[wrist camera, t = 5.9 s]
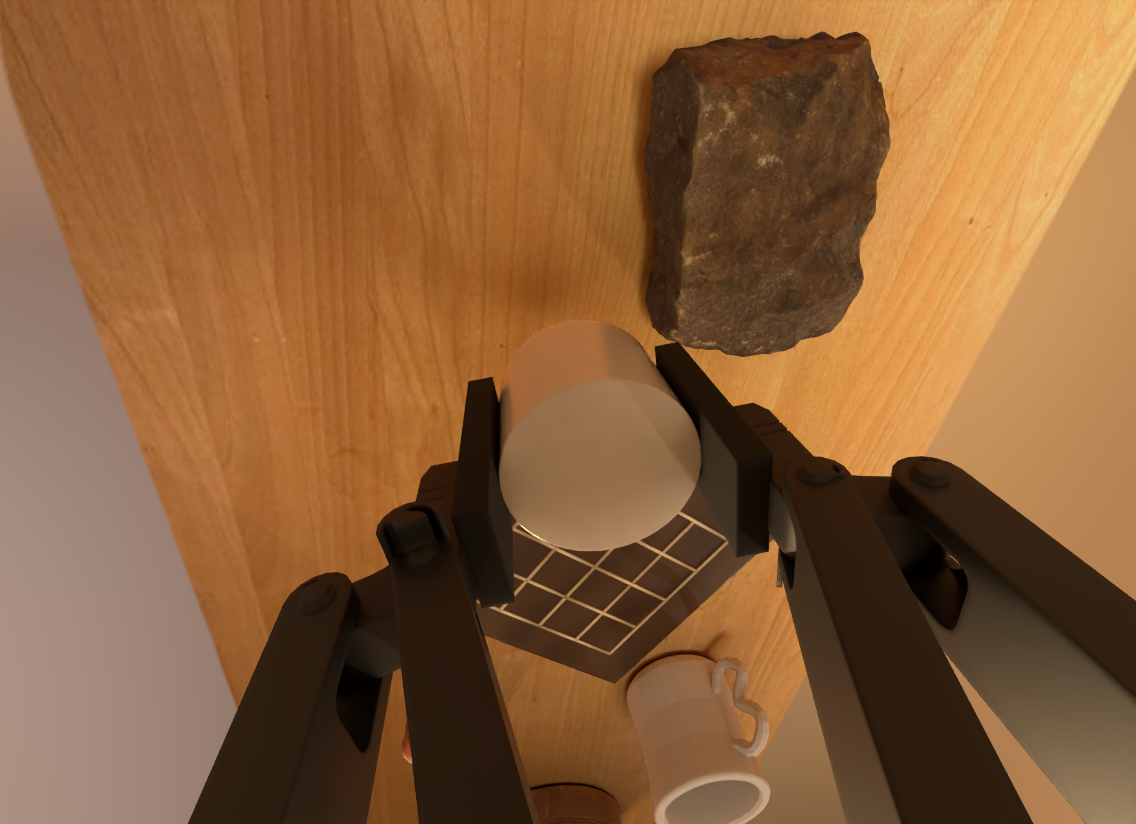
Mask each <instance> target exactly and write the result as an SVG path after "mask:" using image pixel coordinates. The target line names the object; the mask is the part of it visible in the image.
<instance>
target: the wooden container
mask: <svg viewBox="0 0 1136 824" xmlns="http://www.w3.org/2000/svg"><path fill="white" fill-rule="evenodd" d="M531 793H532V797H533V800H534V803H535V807H536V810H537V813H538V817H539V820H540V823H541V824H622V823H621V817H620V812H619V808H618V805H617V803H616V802H615V800H614V799H613V798H612V797H611V796H610V795H608V794H607V793H605V792H603V791H601V790H598V789H595V788H591V787H586V786H579V785H557V786H549V787H543V788H538V789H534V790H531Z"/></svg>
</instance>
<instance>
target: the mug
mask: <svg viewBox="0 0 1136 824" xmlns="http://www.w3.org/2000/svg"><path fill="white" fill-rule="evenodd" d="M728 669H733V670H735V671H736V680H735V684H734V689H733V700H734V703H735V705H736V706H737V708H738V709H739V710H741V711H743V712H746V713H748V714H751V715H753V716H754V717H755V720H756V730H755V733H754V737H753V739H752V741H751V742H748V741H746V738H745V736H744V733H743V731H742V728H741V725H740V723H739V720H738V717H737V714H736V711H735V707H734V704H733V700H732V696H731V693H730V689H729V686H728V683H727V680H726V677H725V675H724V673H725V671H726V670H728ZM747 685H748V672H747V669H746V666H745V665H744V664H743V663H742V662H741V661H739V660H738V659H737V658H732V657H726V658H722V659H719V661H718V662H717V663H715V662H713V661H711V660H709V659H707V658H704V657H702V656H697V655H692V654H680V655H674V656H669V657H665V658H662V659H660V660H657V661H655V662H653V663H651V664H649V665H648V666H646V667H645V668H643V669H642V670H641V671H640V672H639V673H638V674H637V675H636V676H635V678H634V679H633V680H632V682H631V684H630V685H629V688H628V691H627V703H628V709H629V712H630V715H631V718H632V721H633V724H634V726H635V729H636V732H637V735H638V738H639V741H640V744H641V748H642V752H643V756H644V760H645V764H646V768H647V772H648V776H649V783H650V791H651V799H652V807H653V814H654V820H655V822H656V823H657V824H744V823H746V822H748V821H749V820H751V819H752V818H754V817H755V816H757V815H758V814H759V813H760V812H761V811H762V810H763V809H764V807H765V806H766V804H767V803H768V801H769V797H770V788H769V785H768V783H767V780H766V778H765V777H764V775H763V773H762V771H761V769H760V767H759V765H758V763H757V761H756V759H755V757H754V756H757V755H759V754H760V752H761V751H762V750H763V749H764V748H765V746H766V742H767V739H768V736H769V722H768V718H767V715H766V713H765V711H764V710H763V709H762V708H761V707H760V706H759V705H758V704H757V703H755V702H753V701H751V700H748V699H745V694H746V689H747Z"/></svg>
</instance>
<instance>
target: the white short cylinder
mask: <svg viewBox="0 0 1136 824" xmlns="http://www.w3.org/2000/svg"><path fill="white" fill-rule="evenodd" d="M700 469H701V442H700V439H699V435H698V431H697V429H696V427H695V425H694V423H693V421H692V419H691V418H690V416H689V415H688V413H687V412H686V410H685V409H684V407H683V406H682V404H681V403H680V401H679V400H678V398H677V397H676V395H675V394H674V392H673V391H672V389H671V388H670V386H669V385H668V383H667V382H666V380H665V379H664V377H663V376H662V374H661V373H660V371H659V370H658V368H657V367H656V365H655V364H654V362H653V361H652V359H651V358H650V356H649V355H648V353H647V352H646V350H645V349H644V348H643V346H642V345H641V344H640V343H639V342H638V341H637V340H636V339H635V338H634V337H632V336H631V335H630V334H629V333H627V332H626V331H624V330H622V329H621V328H618V327H616V326H614V325H611V324H608V323H605V322H601V321H595V320H571V321H565V322H561V323H557V324H554V325H552V326H549V327H546V328H544V329H543V330H541V331H539V332H537V333H535V334H534V335H533V336H531V337H530V338H529V339H527V340H526V341H525V342H524V343H523V344H522V345H521V346H520V347H519V348H518V349H517V350H516V352H515V353H514V354H513V355H512V357H511V358H510V360H509V362H508V363H507V365H506V368H505V370H504V372H503V375H502V379H501V383H500V391H499V455H498V477H499V485H500V489H501V492H502V496H503V499H504V503H505V504H506V506H507V508H508V510H509V512H510V513H511V514H512V516H513V517H514V518H515V520H516V521H517V522H518V523H519V524H520V525H521V526H522V527H523V528H524V529H525V530H527V531H528V532H529V533H531V534H532V535H533V536H535V537H537V538H539V539H541V540H542V541H544V542H547V543H549V544H552V545H554V546H558V547H562V548H565V549H571V550H578V551H602V550H608V549H614V548H618V547H622V546H626V545H629V544H632V543H634V542H637V541H639V540H641V539H644V538H646V537H648V536H649V535H651V534H653V533H654V532H656V531H658V530H659V529H661V528H662V527H663V526H665V525H666V524H667V523H668V522H669V521H670V520H672V519H673V518H674V517H675V516H676V515H677V514H678V513H679V511H680V510H681V509H682V508H683V507H684V505H685V504H686V502H687V501H688V499H689V498H690V496H691V494H692V492H693V490H694V488H695V486H696V483H697V481H698V478H699V474H700Z"/></svg>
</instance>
